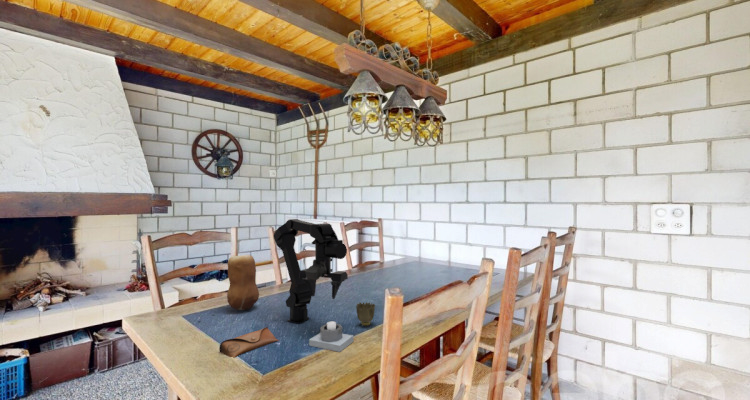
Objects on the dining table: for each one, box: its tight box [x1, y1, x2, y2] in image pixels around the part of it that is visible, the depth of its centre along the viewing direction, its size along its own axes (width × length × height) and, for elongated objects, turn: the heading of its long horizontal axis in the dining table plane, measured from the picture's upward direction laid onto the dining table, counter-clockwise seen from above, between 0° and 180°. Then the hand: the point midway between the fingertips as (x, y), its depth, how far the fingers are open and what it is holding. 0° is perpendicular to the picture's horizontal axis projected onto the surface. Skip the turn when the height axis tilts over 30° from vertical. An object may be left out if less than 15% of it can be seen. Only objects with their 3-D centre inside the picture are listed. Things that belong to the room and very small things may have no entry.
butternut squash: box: [226, 254, 260, 311], centre depth 151 cm, size 14×13×25 cm
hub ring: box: [319, 323, 343, 342], centre depth 113 cm, size 7×7×4 cm
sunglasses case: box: [219, 326, 280, 359], centre depth 112 cm, size 18×7×7 cm
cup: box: [355, 301, 376, 327], centre depth 130 cm, size 8×7×8 cm
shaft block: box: [308, 320, 354, 353], centre depth 113 cm, size 12×9×7 cm
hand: (323, 297), depth 127 cm, fingers open, 9 cm apart
